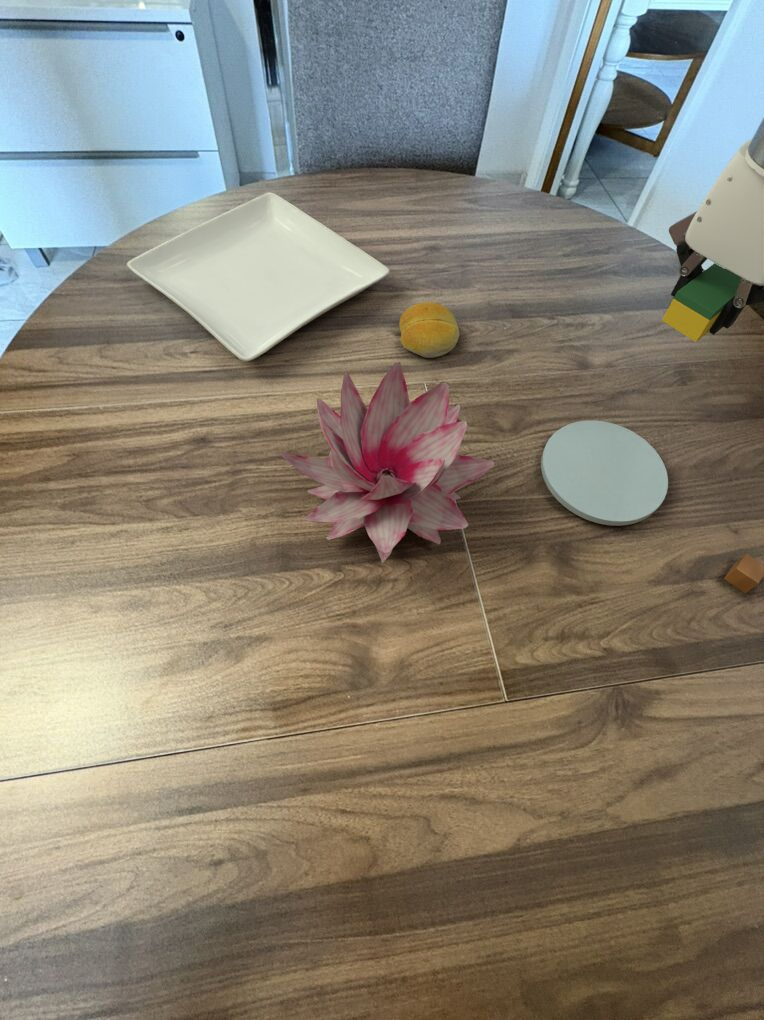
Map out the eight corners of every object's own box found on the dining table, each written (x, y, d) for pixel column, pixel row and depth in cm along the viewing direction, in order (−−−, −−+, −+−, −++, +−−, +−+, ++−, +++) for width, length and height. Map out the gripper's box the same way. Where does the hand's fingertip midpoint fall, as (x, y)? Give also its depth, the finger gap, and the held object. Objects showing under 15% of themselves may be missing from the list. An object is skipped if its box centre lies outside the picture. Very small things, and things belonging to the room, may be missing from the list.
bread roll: (402, 361, 84) (404, 338, 80) (397, 316, 89) (399, 293, 85) (461, 360, 84) (466, 338, 81) (453, 316, 89) (458, 293, 86)
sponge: (697, 292, 71) (714, 262, 68) (731, 312, 70) (751, 283, 66) (661, 320, 68) (677, 291, 65) (696, 342, 67) (714, 313, 63)
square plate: (272, 210, 101) (269, 187, 98) (391, 290, 92) (393, 268, 88) (129, 281, 90) (121, 258, 86) (249, 381, 80) (245, 359, 77)
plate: (590, 410, 81) (594, 402, 79) (686, 483, 75) (693, 475, 74) (514, 468, 75) (517, 460, 74) (612, 551, 69) (617, 544, 68)
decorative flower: (334, 614, 64) (331, 543, 51) (265, 461, 74) (248, 370, 61) (509, 542, 69) (546, 462, 57) (423, 410, 79) (438, 316, 66)
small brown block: (746, 553, 67) (768, 567, 66) (733, 564, 69) (755, 578, 68) (736, 568, 66) (758, 583, 65) (723, 578, 68) (745, 593, 67)
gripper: (910, 175, 52) (782, 341, 67) (733, 97, 58) (653, 265, 73) (873, 207, 49) (747, 373, 64) (690, 122, 55) (616, 291, 71)
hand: (698, 314), depth 69 cm, fingers closed on sponge, 4 cm apart
